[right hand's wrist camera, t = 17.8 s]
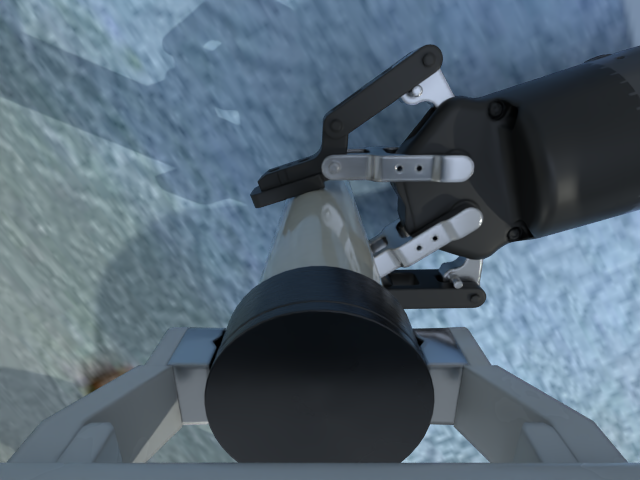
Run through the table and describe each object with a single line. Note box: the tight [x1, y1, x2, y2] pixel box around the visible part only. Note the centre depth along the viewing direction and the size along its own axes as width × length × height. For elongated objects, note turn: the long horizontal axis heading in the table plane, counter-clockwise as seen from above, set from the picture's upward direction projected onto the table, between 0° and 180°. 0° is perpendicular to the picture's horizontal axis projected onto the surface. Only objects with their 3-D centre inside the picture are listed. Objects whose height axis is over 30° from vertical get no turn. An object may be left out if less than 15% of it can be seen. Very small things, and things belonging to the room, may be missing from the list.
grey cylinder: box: [258, 180, 384, 287], centre depth 18 cm, size 4×4×18 cm
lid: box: [204, 266, 435, 463], centre depth 9 cm, size 5×5×2 cm
